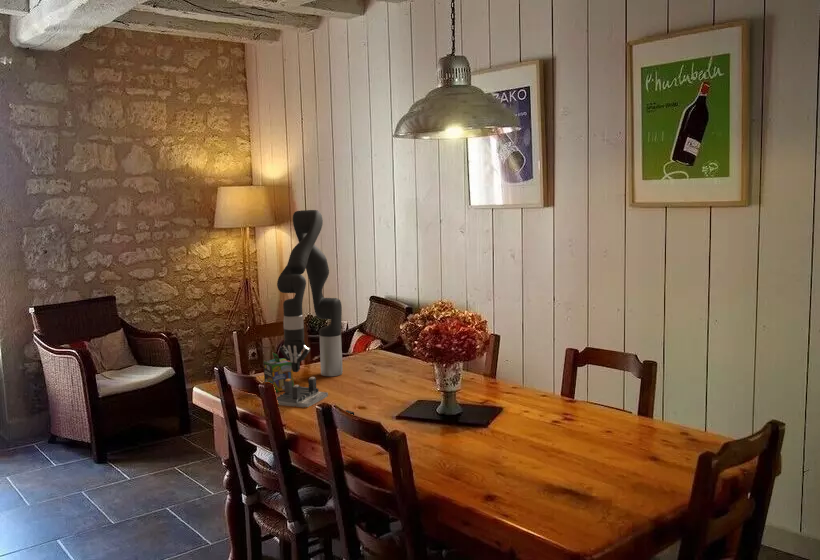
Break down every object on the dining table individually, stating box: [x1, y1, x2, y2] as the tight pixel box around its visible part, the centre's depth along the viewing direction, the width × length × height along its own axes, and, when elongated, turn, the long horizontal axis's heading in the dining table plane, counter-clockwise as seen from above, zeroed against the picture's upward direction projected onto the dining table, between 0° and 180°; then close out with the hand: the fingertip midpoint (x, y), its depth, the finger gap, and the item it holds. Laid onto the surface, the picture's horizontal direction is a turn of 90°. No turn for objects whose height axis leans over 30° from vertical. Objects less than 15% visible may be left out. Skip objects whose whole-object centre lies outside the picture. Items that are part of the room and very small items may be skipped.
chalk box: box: [262, 352, 295, 393], centre depth 298 cm, size 9×9×15 cm
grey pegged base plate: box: [277, 376, 329, 408], centre depth 282 cm, size 17×15×8 cm
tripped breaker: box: [284, 379, 293, 394], centre depth 284 cm, size 2×2×6 cm
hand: (295, 371), depth 282 cm, fingers closed
